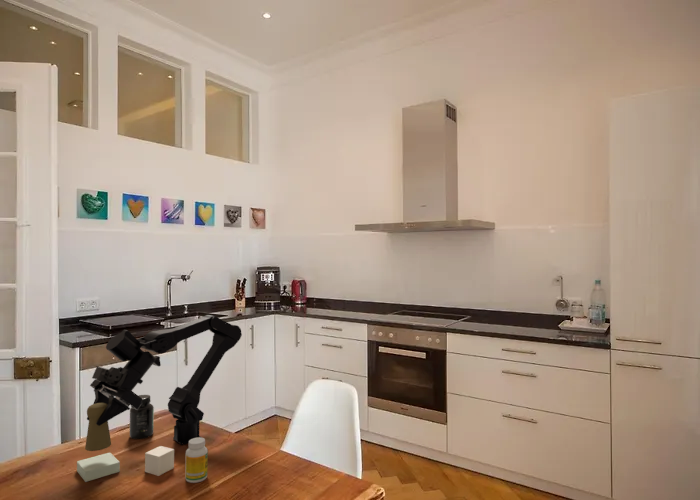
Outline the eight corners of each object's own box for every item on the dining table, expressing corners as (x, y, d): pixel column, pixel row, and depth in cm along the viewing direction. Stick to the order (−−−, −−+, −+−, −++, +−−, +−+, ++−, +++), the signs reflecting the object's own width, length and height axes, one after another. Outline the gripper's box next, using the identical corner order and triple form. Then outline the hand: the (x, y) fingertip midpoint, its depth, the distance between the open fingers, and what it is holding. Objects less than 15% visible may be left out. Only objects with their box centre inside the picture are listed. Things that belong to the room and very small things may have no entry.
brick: (160, 464, 125) (160, 445, 125) (173, 468, 122) (174, 449, 122) (144, 472, 120) (145, 452, 120) (158, 476, 118) (158, 456, 118)
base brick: (109, 461, 126) (110, 452, 126) (119, 471, 120) (119, 461, 120) (76, 470, 120) (76, 461, 120) (85, 481, 114) (85, 471, 114)
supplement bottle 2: (184, 475, 118) (184, 438, 118) (205, 471, 120) (206, 434, 120) (186, 485, 113) (187, 446, 113) (209, 480, 116) (209, 442, 116)
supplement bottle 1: (158, 432, 147) (158, 394, 147) (143, 440, 140) (144, 401, 140) (139, 430, 148) (139, 392, 148) (124, 438, 142) (124, 399, 142)
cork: (104, 450, 118) (104, 407, 118) (80, 451, 117) (80, 408, 117) (115, 440, 124) (115, 400, 124) (92, 441, 123) (91, 400, 123)
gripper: (97, 349, 129) (53, 399, 120) (130, 359, 118) (84, 414, 109) (125, 371, 135) (86, 420, 127) (159, 382, 124) (118, 437, 115)
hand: (92, 422), depth 119 cm, fingers closed on cork, 5 cm apart
